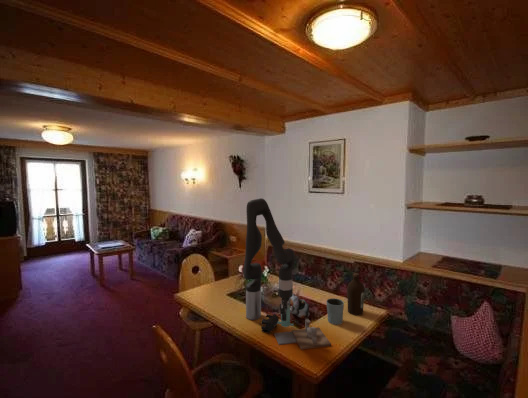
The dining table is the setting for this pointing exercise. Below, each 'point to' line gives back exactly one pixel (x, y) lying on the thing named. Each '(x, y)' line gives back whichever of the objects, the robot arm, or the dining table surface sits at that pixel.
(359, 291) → the olive oil
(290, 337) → the mat
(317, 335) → the square mounting plate
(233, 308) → the dining table surface
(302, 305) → the lucky cat figurine
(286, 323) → the teal teardrop shape
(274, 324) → the black lumpy shape
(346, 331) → the dining table surface
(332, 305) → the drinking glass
